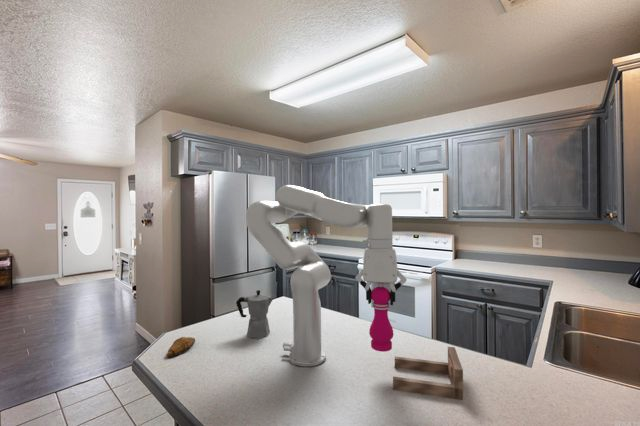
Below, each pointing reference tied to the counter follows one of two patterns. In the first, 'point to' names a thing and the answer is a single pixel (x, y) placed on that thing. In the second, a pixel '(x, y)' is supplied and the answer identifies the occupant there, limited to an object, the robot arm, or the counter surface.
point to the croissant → (180, 346)
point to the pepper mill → (381, 320)
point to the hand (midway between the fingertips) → (380, 302)
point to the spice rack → (427, 387)
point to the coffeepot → (256, 314)
